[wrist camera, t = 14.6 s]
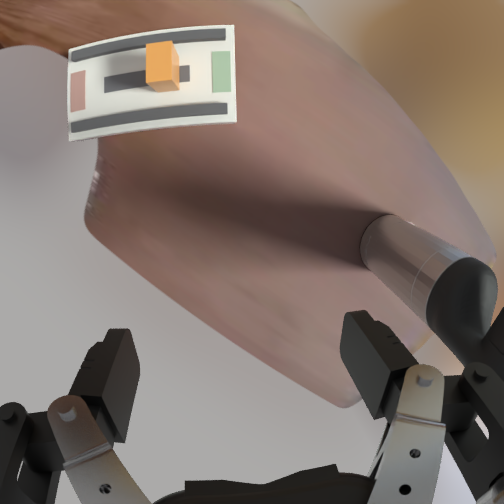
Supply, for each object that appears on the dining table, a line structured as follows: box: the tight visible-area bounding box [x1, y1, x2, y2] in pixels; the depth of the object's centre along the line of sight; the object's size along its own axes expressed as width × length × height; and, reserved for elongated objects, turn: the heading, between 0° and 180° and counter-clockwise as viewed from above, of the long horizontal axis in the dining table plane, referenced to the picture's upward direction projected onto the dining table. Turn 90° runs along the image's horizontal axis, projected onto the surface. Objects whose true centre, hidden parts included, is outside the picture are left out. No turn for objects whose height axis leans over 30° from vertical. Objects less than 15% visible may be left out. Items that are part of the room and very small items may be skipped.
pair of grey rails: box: [71, 28, 228, 133], centre depth 29 cm, size 18×10×1 cm, turn 92°
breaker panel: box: [67, 25, 237, 142], centre depth 31 cm, size 20×12×4 cm, turn 91°
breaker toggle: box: [146, 41, 180, 93], centre depth 26 cm, size 2×4×6 cm, turn 1°
